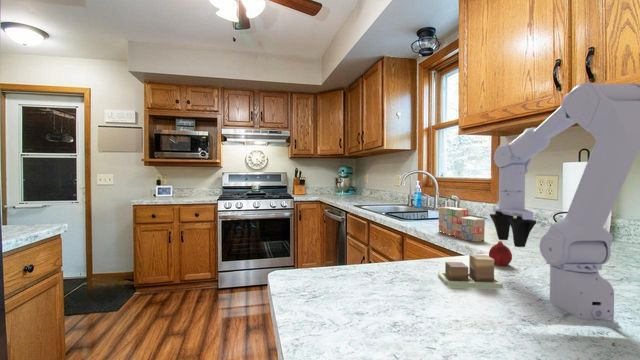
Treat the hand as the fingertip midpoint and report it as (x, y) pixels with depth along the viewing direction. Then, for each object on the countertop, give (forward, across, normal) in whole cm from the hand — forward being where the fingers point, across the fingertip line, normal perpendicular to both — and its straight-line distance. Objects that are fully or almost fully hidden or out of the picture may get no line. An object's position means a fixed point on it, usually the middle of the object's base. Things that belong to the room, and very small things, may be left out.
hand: (510, 243), depth 76 cm
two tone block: (+8, +6, -10) cm, 14 cm away
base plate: (+9, +6, -13) cm, 17 cm away
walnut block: (+8, +6, -16) cm, 19 cm away
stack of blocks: (+10, -54, +8) cm, 55 cm away
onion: (+10, -9, +2) cm, 13 cm away
